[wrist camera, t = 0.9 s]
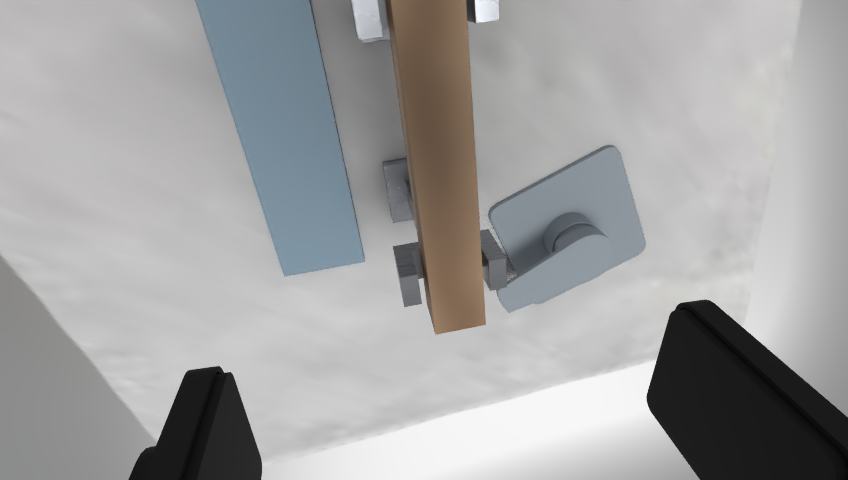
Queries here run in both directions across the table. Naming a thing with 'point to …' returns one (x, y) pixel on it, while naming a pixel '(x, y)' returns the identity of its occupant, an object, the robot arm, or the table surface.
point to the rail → (440, 154)
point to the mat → (286, 127)
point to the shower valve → (567, 228)
